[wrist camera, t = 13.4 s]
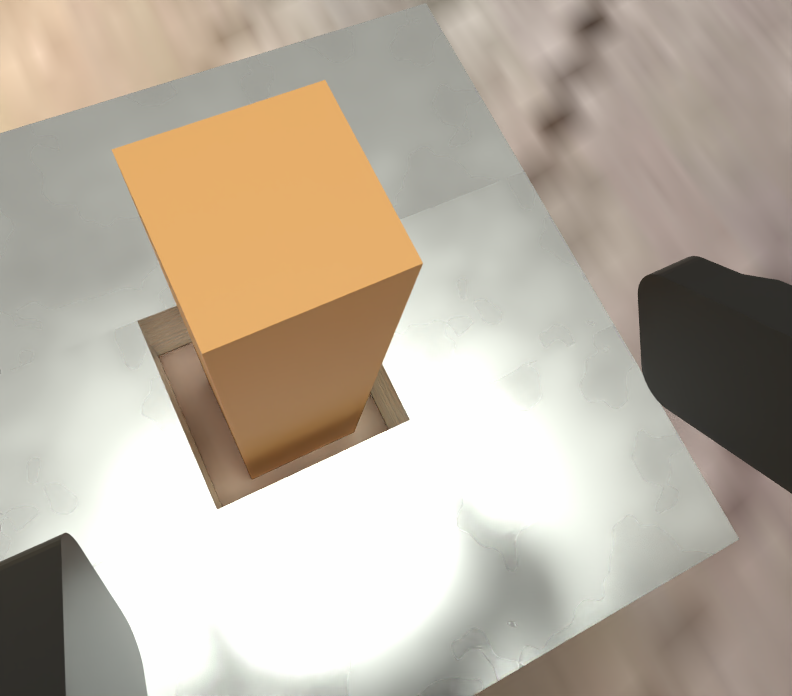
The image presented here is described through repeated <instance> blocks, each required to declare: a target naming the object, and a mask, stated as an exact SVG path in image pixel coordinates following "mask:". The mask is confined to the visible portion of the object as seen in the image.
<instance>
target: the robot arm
mask: <svg viewBox="0 0 792 696" xmlns="http://www.w3.org/2000/svg"><path fill="white" fill-rule="evenodd" d="M638 307H639V326H640V345H641V364H642V372H643V376H644V379H645V382H646V384H647V386H648V388H649V390H650V391H651V393H652V394H653V396H654V397H655V398H656V400H657V401H658V402H659V403H660V404H661V405H662V406H664V407H665V408H666V409H668V410H669V411H671V412H672V413H674V414H675V415H677V416H678V417H680V418H681V419H683V420H684V421H685V422H687V423H688V424H690V425H691V426H693V427H694V428H696V429H697V430H699V431H700V432H702V433H703V434H705V435H706V436H708V437H709V438H711V439H712V440H714V441H715V442H716V443H718V444H719V445H721V446H722V447H724V448H725V449H727V450H728V451H730V452H731V453H733V454H734V455H736V456H737V457H739V458H740V459H742V460H743V461H744V462H746V463H747V464H749V465H750V466H752V467H753V468H755V469H756V470H758V471H759V472H761V473H762V474H764V475H765V476H767V477H768V478H770V479H771V480H773V481H774V482H775V483H777V484H778V485H780V486H781V487H783V488H784V489H786V490H787V491H789V492H790V493H792V285H789V284H787V283H784V282H782V281H779V280H774V279H768V278H762V277H756V276H750V275H744V274H740V273H738V272H736V271H733V270H731V269H728V268H726V267H723V266H721V265H719V264H716V263H714V262H711V261H709V260H706V259H704V258H701V257H698V256H691V257H687V258H685V259H683V260H681V261H678V262H676V263H674V264H672V265H670V266H667V267H665V268H663V269H661V270H658V271H656V272H654V273H652V274H649V275H647V276H645V277H644V278H643V279H642V280H641V282H640V284H639V288H638ZM0 696H148V695H147V688H146V681H145V674H144V668H143V662H142V658H141V654H140V651H139V648H138V645H137V642H136V639H135V637H134V634H133V632H132V629H131V627H130V625H129V623H128V621H127V619H126V617H125V616H124V614H123V613H122V611H121V609H120V608H119V606H118V605H117V603H116V602H115V600H114V598H113V597H112V595H111V594H110V592H109V591H108V589H107V588H106V586H105V584H104V583H103V581H102V580H101V578H100V577H99V575H98V574H97V572H96V570H95V569H94V567H93V566H92V564H91V563H90V561H89V560H88V558H87V556H86V555H85V553H84V552H83V550H82V549H81V547H80V546H79V544H78V543H77V541H76V540H75V539H74V538H73V537H72V536H71V535H70V534H68V533H63V534H61V535H59V536H57V537H54V538H52V539H50V540H48V541H45V542H43V543H41V544H39V545H36V546H34V547H32V548H30V549H27V550H25V551H23V552H21V553H18V554H16V555H14V556H12V557H9V558H7V559H5V560H3V561H0Z"/></svg>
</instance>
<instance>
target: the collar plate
mask: <svg viewBox="0 0 792 696" xmlns="http://www.w3.org/2000/svg"><path fill="white" fill-rule="evenodd" d="M323 80H326V82H327V84H328V86H329V88H330V90H331V92H332V94H333V95H334V97H335V99H336V101H337V103H338V105H339V107H340V108H341V110H342V112H343V114H344V116H345V118H346V120H347V122H348V123H349V125H350V127H351V129H352V131H353V133H354V135H355V137H356V138H357V140H358V142H359V144H360V146H361V148H362V150H363V152H364V153H365V155H366V157H367V159H368V161H369V163H370V165H371V167H372V168H373V170H374V172H375V174H376V176H377V178H378V180H379V182H380V183H381V185H382V187H383V189H384V191H385V193H386V195H387V196H388V198H389V200H390V202H391V204H392V206H393V208H394V210H395V211H396V213H397V215H398V217H399V219H400V221H401V223H402V225H403V226H404V228H405V230H406V232H407V234H408V236H409V238H410V240H411V241H412V243H413V245H414V247H415V249H416V251H417V253H418V255H419V256H420V258H421V260H422V262H423V265H422V267H421V270H420V272H419V275H418V277H417V279H416V282H415V284H414V287H413V289H412V292H411V294H410V297H409V299H408V301H407V304H406V306H405V309H404V311H403V314H402V316H401V319H400V321H399V323H398V326H397V328H396V331H395V333H394V336H393V338H392V340H391V343H390V345H389V348H388V350H387V353H386V355H385V358H384V360H383V362H382V365H381V367H380V370H379V372H378V375H377V377H376V380H375V382H374V384H373V387H372V389H371V394H372V396H373V398H374V400H375V402H376V404H377V406H378V408H379V410H380V412H381V414H382V416H383V418H384V421H385V423H386V425H387V427H388V429H389V430H388V431H385V432H383V433H381V434H379V435H377V436H375V437H373V438H370V439H368V440H366V441H364V442H362V443H360V444H358V445H355V446H353V447H351V448H349V449H347V450H345V451H342V452H340V453H338V454H336V455H334V456H332V457H330V458H327V459H325V460H323V461H321V462H319V463H317V464H315V465H312V466H310V467H308V468H306V469H304V470H302V471H300V472H297V473H295V474H293V475H291V476H289V477H287V478H285V479H282V480H280V481H278V482H276V483H274V484H272V485H270V486H267V487H265V488H263V489H261V490H259V491H257V492H254V493H252V494H250V495H248V496H246V497H244V498H242V499H239V500H237V501H235V502H233V503H231V504H229V505H227V506H224V507H222V506H221V504H220V501H219V499H218V497H217V494H216V492H215V489H214V487H213V485H212V482H211V480H210V478H209V475H208V473H207V471H206V468H205V466H204V463H203V461H202V459H201V456H200V454H199V452H198V449H197V447H196V445H195V442H194V440H193V437H192V435H191V433H190V430H189V428H188V426H187V423H186V421H185V419H184V416H183V414H182V411H181V409H180V407H179V404H178V402H177V400H176V397H175V395H174V393H173V390H172V388H171V385H170V383H169V381H168V378H167V376H166V374H165V371H164V369H163V367H162V364H161V362H160V360H159V357H158V355H161V354H163V353H166V352H168V351H171V350H173V349H176V348H178V347H181V346H183V345H186V344H188V343H191V342H192V341H191V338H190V336H189V333H188V331H187V329H186V326H185V324H184V321H183V319H182V317H181V314H180V312H179V309H178V307H177V305H176V302H175V300H174V298H173V295H172V293H171V290H170V288H169V286H168V283H167V281H166V278H165V276H164V274H163V271H162V269H161V267H160V264H159V262H158V259H157V257H156V255H155V252H154V250H153V247H152V245H151V243H150V240H149V238H148V235H147V233H146V231H145V228H144V226H143V224H142V221H141V219H140V216H139V214H138V212H137V209H136V207H135V204H134V202H133V200H132V197H131V195H130V193H129V190H128V188H127V185H126V183H125V181H124V178H123V176H122V173H121V171H120V169H119V166H118V164H117V161H116V159H115V157H114V154H113V152H112V150H111V149H115V148H118V147H121V146H124V145H127V144H130V143H133V142H136V141H139V140H142V139H145V138H148V137H151V136H154V135H157V134H161V133H164V132H167V131H170V130H173V129H176V128H179V127H182V126H185V125H188V124H191V123H194V122H197V121H200V120H203V119H207V118H210V117H213V116H216V115H219V114H222V113H225V112H228V111H231V110H234V109H237V108H240V107H243V106H246V105H249V104H253V103H256V102H259V101H262V100H265V99H268V98H271V97H274V96H277V95H280V94H283V93H286V92H289V91H292V90H295V89H299V88H302V87H305V86H308V85H311V84H314V83H317V82H320V81H323ZM63 533H68V534H70V535H71V536H72V537H73V538H74V539H75V540H76V541H77V543H78V544H79V546H80V547H81V549H82V550H83V552H84V553H85V555H86V556H87V558H88V560H89V561H90V563H91V564H92V566H93V567H94V569H95V570H96V572H97V574H98V575H99V577H100V578H101V580H102V581H103V583H104V584H105V586H106V588H107V589H108V591H109V592H110V594H111V595H112V597H113V598H114V600H115V602H116V603H117V605H118V606H119V608H120V609H121V611H122V613H123V614H124V616H125V617H126V619H127V621H128V623H129V625H130V627H131V629H132V632H133V634H134V637H135V639H136V642H137V645H138V648H139V651H140V654H141V658H142V662H143V668H144V674H145V681H146V688H147V695H148V696H473V695H475V694H477V693H478V692H480V691H482V690H484V689H485V688H487V687H489V686H490V685H492V684H494V683H496V682H497V681H499V680H501V679H502V678H504V677H506V676H507V675H509V674H511V673H513V672H514V671H516V670H518V669H519V668H521V667H523V666H524V665H526V664H528V663H530V662H531V661H533V660H535V659H536V658H538V657H540V656H541V655H543V654H545V653H547V652H548V651H550V650H552V649H553V648H555V647H557V646H558V645H560V644H562V643H564V642H565V641H567V640H569V639H570V638H572V637H574V636H576V635H577V634H579V633H581V632H582V631H584V630H586V629H587V628H589V627H591V626H593V625H594V624H596V623H598V622H599V621H601V620H603V619H604V618H606V617H608V616H610V615H611V614H613V613H615V612H616V611H618V610H620V609H621V608H623V607H625V606H627V605H628V604H630V603H632V602H633V601H635V600H637V599H638V598H640V597H642V596H644V595H645V594H647V593H649V592H650V591H652V590H654V589H655V588H657V587H659V586H661V585H662V584H664V583H666V582H667V581H669V580H671V579H673V578H674V577H676V576H678V575H679V574H681V573H683V572H684V571H686V570H688V569H690V568H691V567H693V566H695V565H696V564H698V563H700V562H701V561H703V560H705V559H707V558H708V557H710V556H712V555H713V554H715V553H717V552H718V551H720V550H722V549H724V548H725V547H727V546H729V545H730V544H732V543H734V542H735V541H737V540H739V538H738V536H737V534H736V533H735V531H734V529H733V528H732V526H731V524H730V522H729V521H728V519H727V517H726V516H725V514H724V512H723V510H722V509H721V507H720V505H719V504H718V502H717V500H716V498H715V497H714V495H713V493H712V492H711V490H710V488H709V487H708V485H707V483H706V481H705V480H704V478H703V476H702V475H701V473H700V471H699V469H698V468H697V466H696V464H695V463H694V461H693V459H692V457H691V456H690V454H689V452H688V451H687V449H686V447H685V445H684V444H683V442H682V440H681V439H680V437H679V435H678V433H677V432H676V430H675V428H674V427H673V425H672V423H671V422H670V420H669V418H668V416H667V415H666V413H665V411H664V410H663V408H662V406H661V404H660V403H659V402H658V401H657V400H656V398H655V397H654V396H653V394H652V393H651V391H650V390H649V388H648V386H647V384H646V382H645V379H644V376H643V374H642V372H641V370H640V368H639V367H638V365H637V363H636V362H635V360H634V358H633V357H632V355H631V353H630V351H629V350H628V348H627V346H626V345H625V343H624V341H623V339H622V338H621V336H620V334H619V333H618V331H617V329H616V327H615V326H614V324H613V322H612V321H611V319H610V317H609V315H608V314H607V312H606V310H605V309H604V307H603V305H602V303H601V302H600V300H599V298H598V297H597V295H596V293H595V292H594V290H593V288H592V286H591V285H590V283H589V281H588V280H587V278H586V276H585V274H584V273H583V271H582V269H581V268H580V266H579V264H578V262H577V261H576V259H575V257H574V256H573V254H572V252H571V250H570V249H569V247H568V245H567V244H566V242H565V240H564V238H563V237H562V235H561V233H560V232H559V230H558V228H557V227H556V225H555V223H554V221H553V220H552V218H551V216H550V215H549V213H548V211H547V209H546V208H545V206H544V204H543V203H542V201H541V199H540V197H539V196H538V194H537V192H536V191H535V189H534V187H533V185H532V184H531V182H530V180H529V179H528V177H527V175H526V173H525V172H524V170H523V168H522V167H521V165H520V163H519V162H518V160H517V158H516V156H515V155H514V153H513V151H512V150H511V148H510V146H509V144H508V143H507V141H506V139H505V138H504V136H503V134H502V132H501V131H500V129H499V127H498V126H497V124H496V122H495V120H494V119H493V117H492V115H491V114H490V112H489V110H488V108H487V107H486V105H485V103H484V102H483V100H482V98H481V97H480V95H479V93H478V91H477V90H476V88H475V86H474V85H473V83H472V81H471V79H470V78H469V76H468V74H467V73H466V71H465V69H464V67H463V66H462V64H461V62H460V61H459V59H458V57H457V55H456V54H455V52H454V50H453V49H452V47H451V45H450V43H449V42H448V40H447V38H446V37H445V35H444V33H443V32H442V30H441V28H440V26H439V25H438V23H437V21H436V20H435V18H434V16H433V14H432V13H431V11H430V9H429V8H428V6H427V4H426V3H425V4H422V5H419V6H416V7H412V8H409V9H406V10H402V11H399V12H396V13H393V14H389V15H386V16H383V17H380V18H376V19H373V20H370V21H366V22H363V23H360V24H357V25H353V26H350V27H347V28H344V29H340V30H337V31H334V32H330V33H327V34H324V35H321V36H317V37H314V38H311V39H308V40H304V41H301V42H298V43H295V44H291V45H288V46H285V47H281V48H278V49H275V50H272V51H268V52H265V53H262V54H259V55H255V56H252V57H249V58H245V59H242V60H239V61H236V62H232V63H229V64H226V65H223V66H219V67H216V68H213V69H209V70H206V71H203V72H200V73H196V74H193V75H190V76H187V77H183V78H180V79H177V80H173V81H170V82H167V83H164V84H160V85H157V86H154V87H151V88H147V89H144V90H141V91H137V92H134V93H131V94H128V95H124V96H121V97H118V98H115V99H111V100H108V101H105V102H101V103H98V104H95V105H92V106H88V107H85V108H82V109H79V110H75V111H72V112H69V113H65V114H62V115H59V116H56V117H52V118H49V119H46V120H43V121H39V122H36V123H33V124H29V125H26V126H23V127H20V128H16V129H13V130H10V131H7V132H3V133H0V561H3V560H5V559H7V558H9V557H12V556H14V555H16V554H18V553H21V552H23V551H25V550H27V549H30V548H32V547H34V546H36V545H39V544H41V543H43V542H45V541H48V540H50V539H52V538H54V537H57V536H59V535H61V534H63Z"/></svg>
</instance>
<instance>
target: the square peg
mask: <svg viewBox="0 0 792 696" xmlns="http://www.w3.org/2000/svg"><path fill="white" fill-rule="evenodd" d="M111 150H112V152H113V154H114V157H115V159H116V161H117V164H118V166H119V169H120V171H121V173H122V176H123V178H124V181H125V183H126V185H127V188H128V190H129V193H130V195H131V197H132V200H133V202H134V204H135V207H136V209H137V212H138V214H139V216H140V219H141V221H142V224H143V226H144V228H145V231H146V233H147V235H148V238H149V240H150V243H151V245H152V247H153V250H154V252H155V255H156V257H157V259H158V262H159V264H160V267H161V269H162V271H163V274H164V276H165V278H166V281H167V283H168V286H169V288H170V290H171V293H172V295H173V298H174V300H175V302H176V305H177V307H178V309H179V312H180V314H181V317H182V319H183V321H184V324H185V326H186V329H187V331H188V333H189V336H190V338H191V341H192V343H193V345H194V348H195V350H196V352H197V355H198V357H199V360H200V362H201V364H202V367H203V369H204V372H205V374H206V376H207V379H208V381H209V383H210V386H211V388H212V390H213V392H214V395H215V397H216V399H217V401H218V404H219V406H220V408H221V411H222V413H223V415H224V417H225V420H226V422H227V424H228V426H229V429H230V431H231V433H232V436H233V438H234V440H235V442H236V445H237V447H238V449H239V451H240V454H241V456H242V458H243V460H244V463H245V465H246V467H247V470H248V472H249V474H250V476H251V479H254V478H256V477H258V476H260V475H263V474H265V473H267V472H269V471H271V470H273V469H275V468H278V467H280V466H282V465H284V464H286V463H288V462H291V461H293V460H295V459H297V458H299V457H301V456H303V455H306V454H308V453H310V452H312V451H314V450H316V449H319V448H321V447H323V446H325V445H327V444H329V443H331V442H334V441H336V440H338V439H340V438H342V437H344V436H347V435H349V434H351V433H353V432H354V431H355V428H356V426H357V423H358V421H359V419H360V416H361V414H362V411H363V409H364V406H365V404H366V402H367V399H368V397H369V394H370V392H371V389H372V387H373V384H374V382H375V380H376V377H377V375H378V372H379V370H380V367H381V365H382V362H383V360H384V358H385V355H386V353H387V350H388V348H389V345H390V343H391V340H392V338H393V336H394V333H395V331H396V328H397V326H398V323H399V321H400V319H401V316H402V314H403V311H404V309H405V306H406V304H407V301H408V299H409V297H410V294H411V292H412V289H413V287H414V284H415V282H416V279H417V277H418V275H419V272H420V270H421V267H422V265H423V262H422V260H421V258H420V256H419V255H418V253H417V251H416V249H415V247H414V245H413V243H412V241H411V240H410V238H409V236H408V234H407V232H406V230H405V228H404V226H403V225H402V223H401V221H400V219H399V217H398V215H397V213H396V211H395V210H394V208H393V206H392V204H391V202H390V200H389V198H388V196H387V195H386V193H385V191H384V189H383V187H382V185H381V183H380V182H379V180H378V178H377V176H376V174H375V172H374V170H373V168H372V167H371V165H370V163H369V161H368V159H367V157H366V155H365V153H364V152H363V150H362V148H361V146H360V144H359V142H358V140H357V138H356V137H355V135H354V133H353V131H352V129H351V127H350V125H349V123H348V122H347V120H346V118H345V116H344V114H343V112H342V110H341V108H340V107H339V105H338V103H337V101H336V99H335V97H334V95H333V94H332V92H331V90H330V88H329V86H328V84H327V82H326V80H323V81H320V82H317V83H314V84H311V85H308V86H305V87H302V88H299V89H295V90H292V91H289V92H286V93H283V94H280V95H277V96H274V97H271V98H268V99H265V100H262V101H259V102H256V103H253V104H249V105H246V106H243V107H240V108H237V109H234V110H231V111H228V112H225V113H222V114H219V115H216V116H213V117H210V118H207V119H203V120H200V121H197V122H194V123H191V124H188V125H185V126H182V127H179V128H176V129H173V130H170V131H167V132H164V133H161V134H157V135H154V136H151V137H148V138H145V139H142V140H139V141H136V142H133V143H130V144H127V145H124V146H121V147H118V148H115V149H111Z"/></svg>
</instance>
